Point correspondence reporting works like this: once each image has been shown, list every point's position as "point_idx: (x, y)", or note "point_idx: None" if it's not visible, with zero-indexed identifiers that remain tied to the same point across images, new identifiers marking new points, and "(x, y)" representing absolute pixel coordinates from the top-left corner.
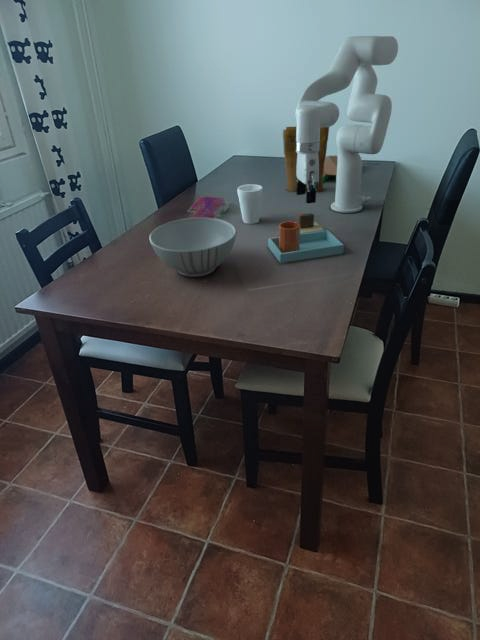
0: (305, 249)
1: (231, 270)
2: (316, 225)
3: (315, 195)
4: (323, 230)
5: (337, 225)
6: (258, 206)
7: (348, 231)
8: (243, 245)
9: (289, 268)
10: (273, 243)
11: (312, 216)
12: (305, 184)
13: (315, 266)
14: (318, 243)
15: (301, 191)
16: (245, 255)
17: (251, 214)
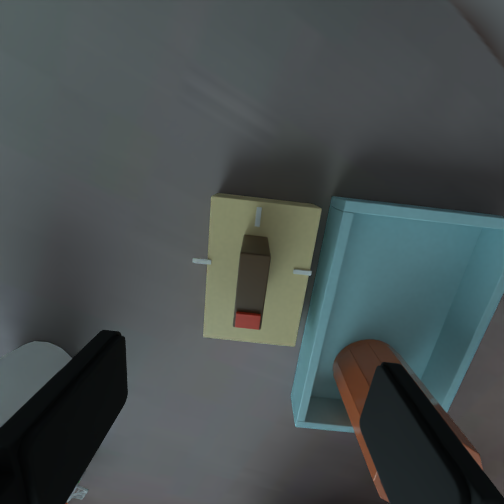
0: (379, 317)
1: (368, 500)
2: (260, 217)
3: (444, 428)
4: (321, 210)
5: (212, 60)
6: (14, 408)
7: (308, 49)
8: (240, 441)
9: None
10: (345, 429)
11: (269, 261)
12: (44, 432)
13: (495, 338)
14: (361, 255)
15: (110, 392)
16: (307, 456)
17: None
